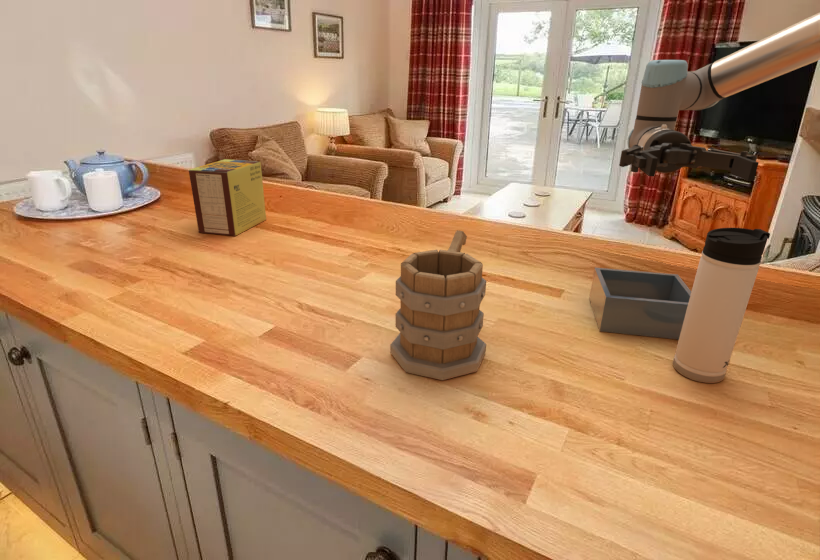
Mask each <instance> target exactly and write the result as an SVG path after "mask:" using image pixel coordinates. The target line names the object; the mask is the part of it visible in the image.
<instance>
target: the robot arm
mask: <svg viewBox="0 0 820 560" xmlns="http://www.w3.org/2000/svg"><path fill="white" fill-rule="evenodd" d="M818 61H820V11H819V12H817V13H815V14H813V15H810V16H809V17H806V18H805V19H802V20H800V21H798V22H796V23H793V24H792V25H789V26H787V27H785V28H783V29H781V30H779V31H776V32H775V33H772V34H771V35H769V36H766V37H764V38H762V39H759V40H758V41H755V42H753V43H751V44H749V45H747V46H745V47H743V48H740V49H738V50H737V51H734V52H733V53H730V54H728V55H726V56H723V57H721V58H719V59H717V60H715V61H714V62H712V63H708V64H707V65H704V66H703V67H700V68H699V69H696V70H694V71H692V70H688V69H689V63H688V62H687V60H685V59H652V60H650V61H648V62H647V63H646V65H645V68H644V73H643V78H642V79H641V84H640V85H641V86H640V90H639V91H640V92H639V97H638V104H637V109H636V110H637V111H636V117H635V120H634V124H633V128H632V130H631V131H629V132H630V133H628V136H627V148H626V149H622V150H621V152H620V157H619V158H620V159H619V165H618V166H619V167H622V168H625V167H628V166H630V172H631V173H638V172H639V170H640V171H641V172H643V173H644V174H645V175H647V176H648V177H655V176H656V173H660V174H672V173H675V172H677V171H679V170H680V169H682V168H691V169H701V168H702V167H703V168H710V169H715V170H722V171H726V172H727V171H728V172H730V174H731V175H734V176H736V177H738V178H741V179H743V180H745V181H747V182H755V181H754V180H755V177H756V174H757V170H758V166H759V163H760V162H759V161H757V160H758V156H757V155H754V154H749V152H748V151H747V150H745V151H741V152H735V151H727V150H722V149H718V148H715V147H708V148H706V147H703V146H697V145H696V146H695V145H692V142H691V140H690V138H689V137H688V136H687V135H686V134H685V133H683V132H681V131H678V130H676V124H677V120H678V117H679V111H702V110H705V109H710V108H711V107H714V106H715V105H716V104H718V103H719V102H720V101H722V100H723V99H726V98H728V97H730V96H733V95H736V94H738V93H740V92H742V91H745V90H748V89H750V88H753V87H755V86H758V85H760V84H763V83H765V82H768V81H770V80H772V79H775V78H778V77H780V76H783V75H786V74H788V73H791V72H792V71H795V70H798V69H800V68H802V67H806V66H808V65H810V64H813V63H816V62H818Z"/></svg>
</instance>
